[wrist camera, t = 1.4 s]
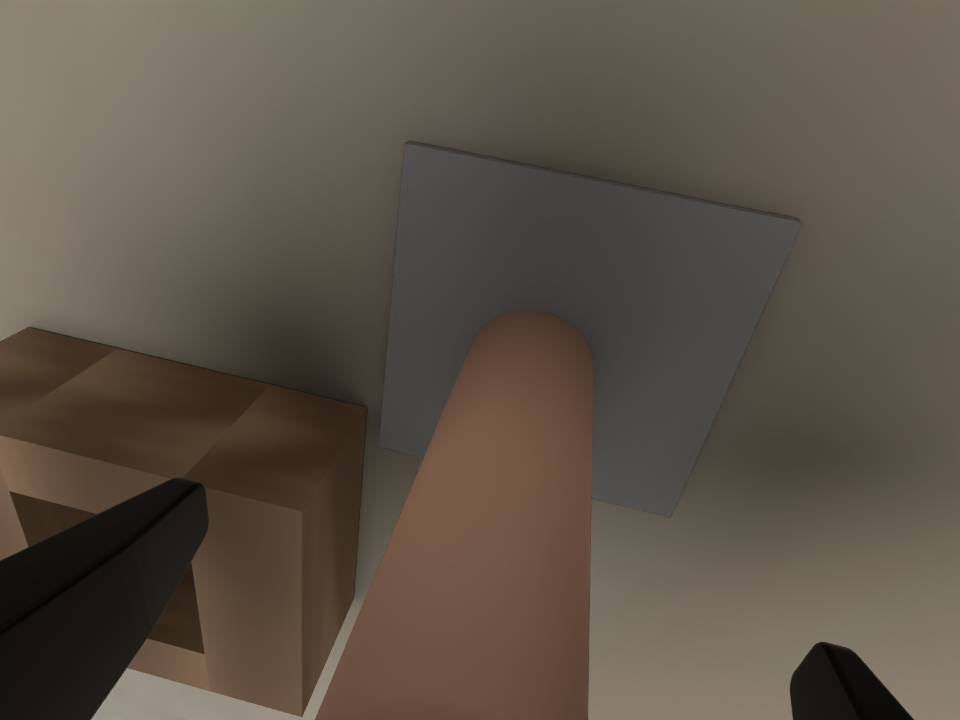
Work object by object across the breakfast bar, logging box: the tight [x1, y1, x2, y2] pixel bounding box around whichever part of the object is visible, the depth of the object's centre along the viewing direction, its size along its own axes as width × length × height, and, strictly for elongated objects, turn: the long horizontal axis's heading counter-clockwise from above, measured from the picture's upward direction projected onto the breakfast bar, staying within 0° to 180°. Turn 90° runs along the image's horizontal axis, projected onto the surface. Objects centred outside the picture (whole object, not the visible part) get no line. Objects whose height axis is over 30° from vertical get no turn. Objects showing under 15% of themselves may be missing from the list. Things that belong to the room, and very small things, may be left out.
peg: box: [315, 310, 593, 720], centre depth 10 cm, size 3×3×9 cm
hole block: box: [0, 327, 367, 717], centre depth 16 cm, size 10×8×4 cm
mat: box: [379, 141, 802, 518], centre depth 14 cm, size 8×8×1 cm
